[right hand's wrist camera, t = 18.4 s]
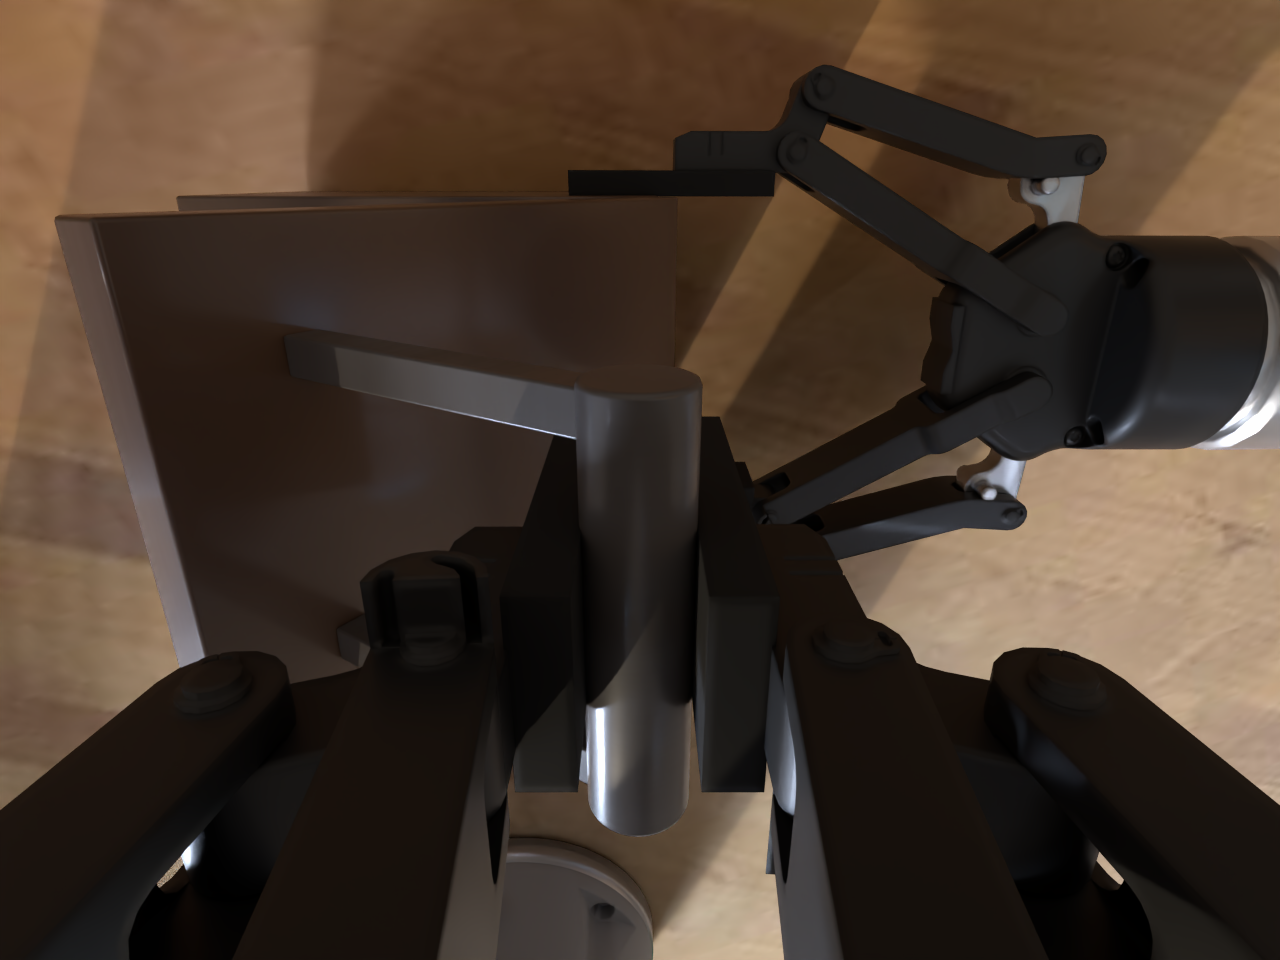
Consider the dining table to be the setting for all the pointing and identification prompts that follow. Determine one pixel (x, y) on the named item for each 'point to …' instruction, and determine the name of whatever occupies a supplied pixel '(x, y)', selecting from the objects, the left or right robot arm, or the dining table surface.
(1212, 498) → the dining table surface
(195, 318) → the lid
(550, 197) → the chest
